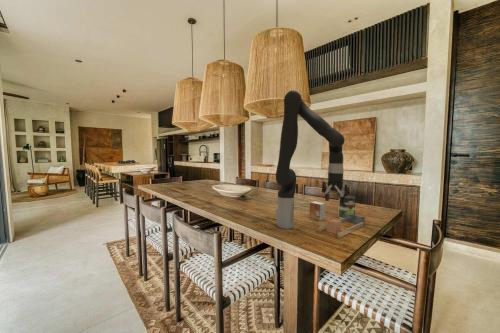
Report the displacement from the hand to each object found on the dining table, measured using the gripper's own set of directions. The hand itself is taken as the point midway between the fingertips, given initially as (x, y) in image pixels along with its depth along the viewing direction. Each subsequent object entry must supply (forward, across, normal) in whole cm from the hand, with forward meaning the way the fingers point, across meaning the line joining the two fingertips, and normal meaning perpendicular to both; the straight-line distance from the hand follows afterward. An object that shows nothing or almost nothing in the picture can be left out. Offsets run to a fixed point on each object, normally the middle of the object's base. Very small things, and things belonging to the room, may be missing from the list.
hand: (334, 202), depth 113 cm
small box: (+16, -19, +13) cm, 28 cm away
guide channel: (+16, 0, +8) cm, 18 cm away
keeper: (+16, 0, 0) cm, 16 cm away
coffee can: (+16, -8, +30) cm, 35 cm away
